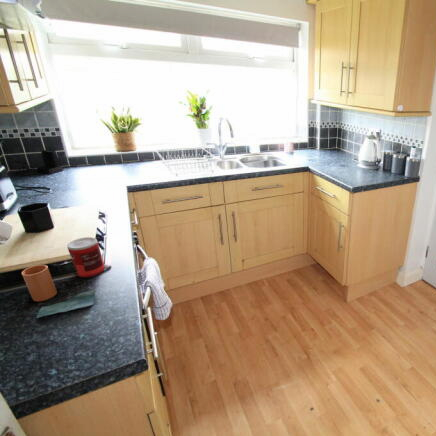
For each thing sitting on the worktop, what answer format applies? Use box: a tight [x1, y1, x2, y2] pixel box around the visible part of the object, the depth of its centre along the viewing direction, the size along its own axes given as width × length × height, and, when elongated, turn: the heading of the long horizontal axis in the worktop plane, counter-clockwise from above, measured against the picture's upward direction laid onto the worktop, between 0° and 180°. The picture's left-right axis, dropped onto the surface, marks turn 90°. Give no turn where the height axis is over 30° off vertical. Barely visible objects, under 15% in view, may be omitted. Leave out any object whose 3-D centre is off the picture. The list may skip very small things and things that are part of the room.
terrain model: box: [35, 289, 97, 319], centre depth 89 cm, size 13×8×2 cm, turn 122°
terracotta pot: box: [20, 264, 58, 302], centre depth 93 cm, size 6×6×9 cm
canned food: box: [66, 236, 106, 278], centre depth 104 cm, size 8×8×11 cm
